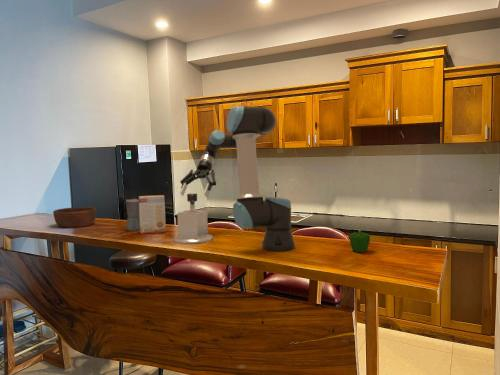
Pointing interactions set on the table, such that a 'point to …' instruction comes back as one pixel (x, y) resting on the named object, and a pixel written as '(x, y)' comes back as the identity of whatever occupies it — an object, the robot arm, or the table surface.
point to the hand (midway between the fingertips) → (193, 194)
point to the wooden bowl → (75, 217)
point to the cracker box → (152, 214)
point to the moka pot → (132, 214)
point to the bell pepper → (359, 241)
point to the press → (192, 228)
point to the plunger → (192, 201)
